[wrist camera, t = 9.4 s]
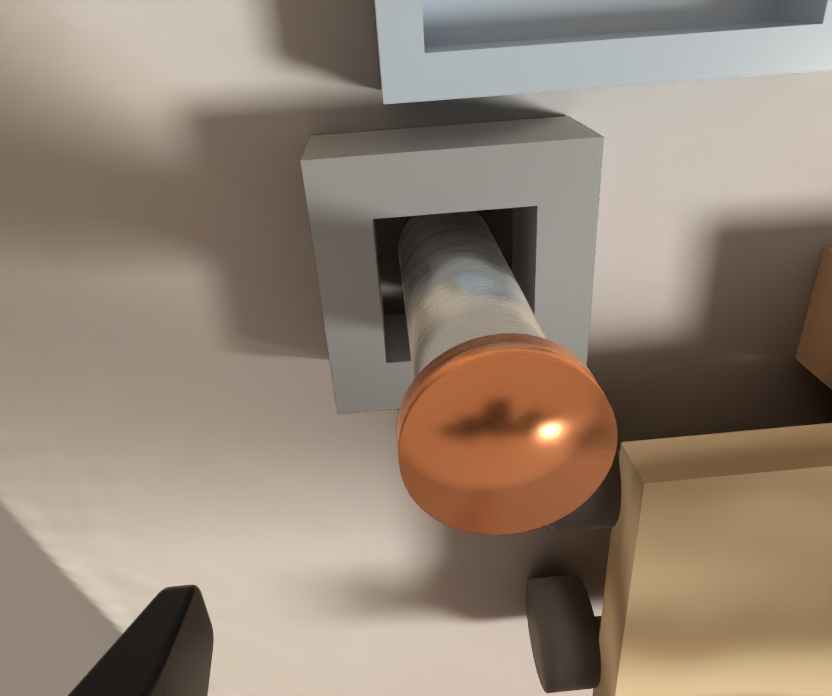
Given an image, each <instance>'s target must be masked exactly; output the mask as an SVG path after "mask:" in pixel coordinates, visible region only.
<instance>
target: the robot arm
mask: <svg viewBox="0 0 832 696" xmlns="http://www.w3.org/2000/svg"><path fill="white" fill-rule="evenodd" d="M212 652H213V628H212V624H211V621H210V618H209V615H208V612H207V609H206V606H205V603H204V600H203V596H202V593H201V591H200V589H199V588H198V587H197V586H196V585H183V586H173V587H167V588H165V589H163V590H162V591H160V592H159V593H158V595H157V596H156V597H155V598H154V599H153V600H152V601H151V602H150V604H149V605H148V606H147V607H146V608H145V609H144V610H143V611H142V613H141V614H140V615H139V616H138V617H137V618H136V619H135V620H134V622H133V623H132V624H131V625H130V626H129V627H128V628H127V630H126V631H125V632H124V633H123V634H122V635H121V636H120V637H119V639H118V640H117V641H116V642H115V643H114V644H113V645H112V647H111V648H110V649H109V650H108V651H107V652H106V653H105V654H104V655H103V657H102V658H101V659H100V660H99V661H98V662H97V664H96V665H95V666H94V667H93V668H92V669H91V670H90V671H89V672H88V674H87V675H86V676H85V677H84V678H83V679H82V680H81V681H80V683H79V684H78V685H77V686H76V687H75V688H74V689H73V690H72V692H71V693H70V694H69V695H68V696H207V694H208V686H209V677H210V669H211V660H212Z"/></svg>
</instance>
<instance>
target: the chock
mask: <svg viewBox="0 0 832 696" xmlns="http://www.w3.org/2000/svg"><path fill="white" fill-rule="evenodd" d="M795 359H796V360H797V361H798V362H800V363H801V364H802V365H803V366H804V367H805V368H807V369H808V370H809V371H810V372H811V373H813V374H814V375H815V376H816V377H817V378H818V379H820V380H821V381H822V382H823V383H824V384H826V385H827V386H828V387H829V388H830V389H831V390H832V246H825V247H824V249H823V253H822V256H821V260H820V264H819V268H818V272H817V276H816V280H815V284H814V288H813V291H812V295H811V299H810V303H809V307H808V311H807V315H806V319H805V323H804V326H803V330H802V334H801V338H800V342H799V346H798V350H797V354H796V358H795Z"/></svg>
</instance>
